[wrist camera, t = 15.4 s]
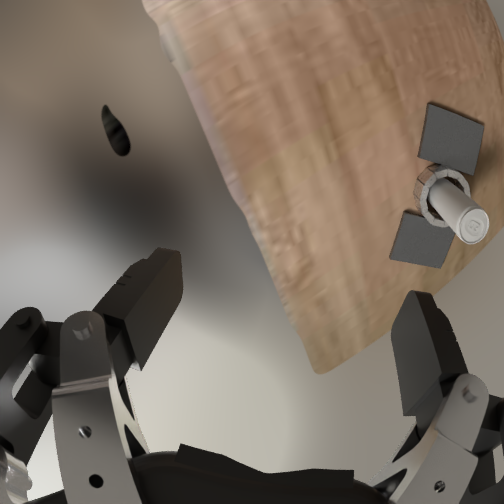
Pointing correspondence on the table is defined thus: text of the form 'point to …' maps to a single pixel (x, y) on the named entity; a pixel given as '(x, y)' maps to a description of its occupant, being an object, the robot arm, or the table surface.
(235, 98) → the table surface
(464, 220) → the beverage can
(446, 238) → the hinge model
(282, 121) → the table surface
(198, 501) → the robot arm
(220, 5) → the table surface
